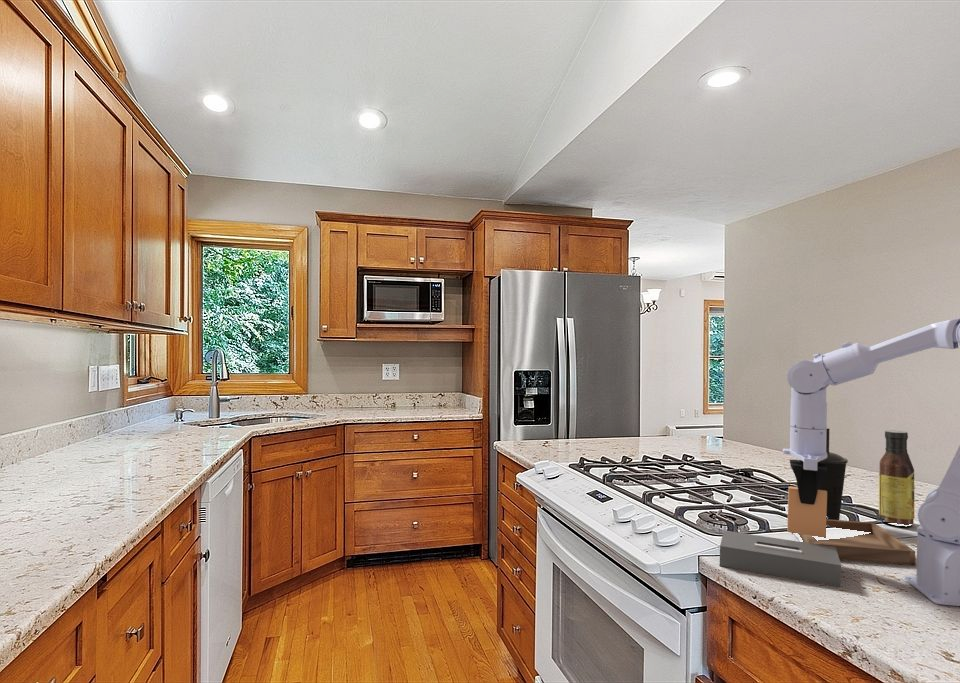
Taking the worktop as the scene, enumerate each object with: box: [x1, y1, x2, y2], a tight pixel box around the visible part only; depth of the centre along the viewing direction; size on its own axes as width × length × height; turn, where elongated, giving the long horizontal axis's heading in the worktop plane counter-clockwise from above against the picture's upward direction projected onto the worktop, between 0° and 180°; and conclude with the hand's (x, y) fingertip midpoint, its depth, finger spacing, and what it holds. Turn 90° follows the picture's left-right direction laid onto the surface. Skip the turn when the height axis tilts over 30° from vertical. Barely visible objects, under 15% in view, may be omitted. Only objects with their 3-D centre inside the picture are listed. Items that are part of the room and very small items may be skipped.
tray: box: [799, 519, 916, 566], centre depth 112 cm, size 16×16×2 cm
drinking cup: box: [818, 428, 849, 520], centre depth 127 cm, size 8×8×20 cm
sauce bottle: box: [878, 429, 916, 525], centre depth 126 cm, size 7×6×20 cm
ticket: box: [786, 486, 827, 538], centre depth 106 cm, size 6×2×8 cm, turn 64°
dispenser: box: [719, 530, 842, 588], centre depth 102 cm, size 18×9×4 cm, turn 63°
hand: (806, 502), depth 106 cm, fingers closed on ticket, 1 cm apart
